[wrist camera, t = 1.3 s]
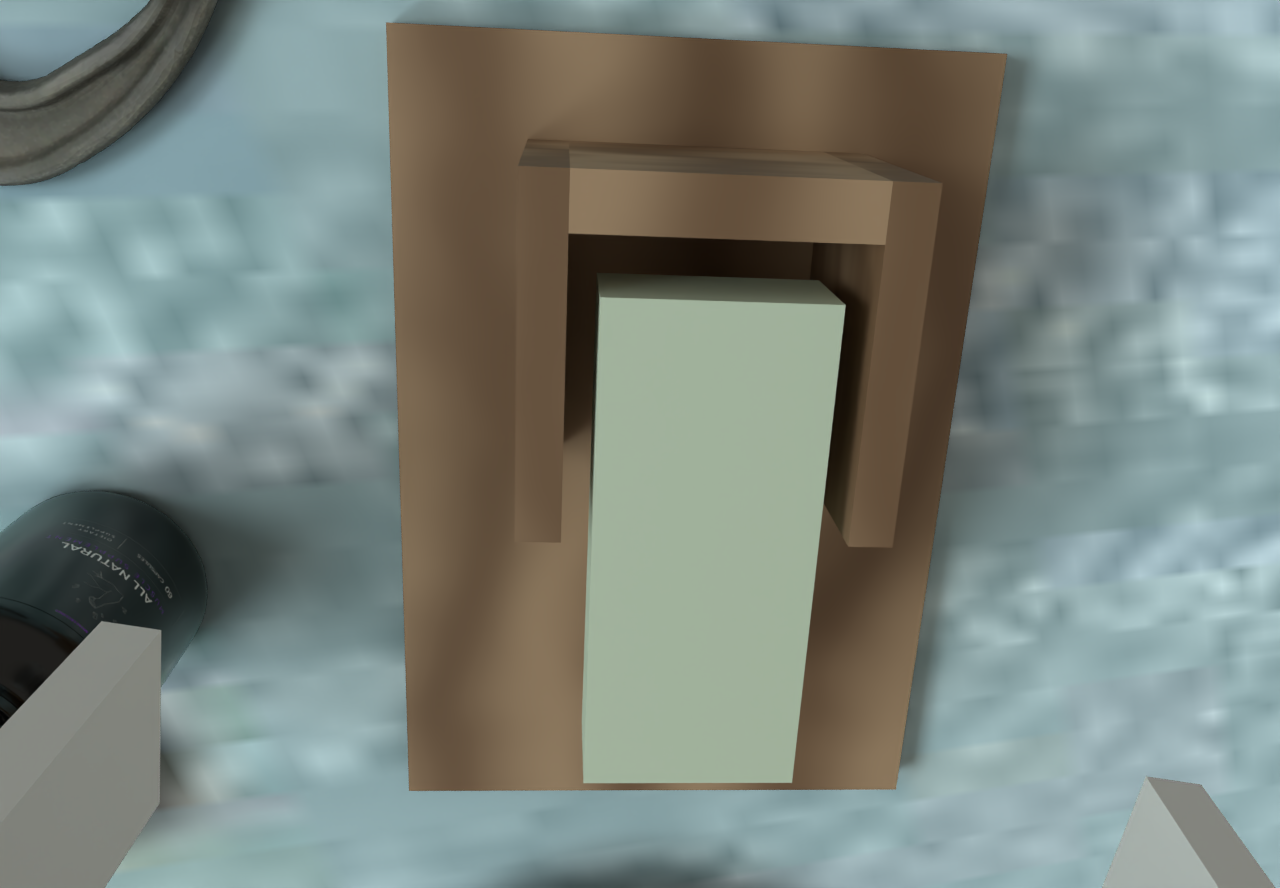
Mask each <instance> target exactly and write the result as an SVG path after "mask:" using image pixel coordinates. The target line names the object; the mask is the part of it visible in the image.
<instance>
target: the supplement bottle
mask: <svg viewBox="0 0 1280 888" xmlns="http://www.w3.org/2000/svg"><path fill="white" fill-rule="evenodd" d="M206 603H207V581H206V575H205V571H204V567H203V565H202V562H201V559H200V557H199V555H198V553H197V551H196V549H195V548H194V546H193V544H192V543H191V541H190V540H189V538H188V537H187V536H186V534H185V533H184V532H183V531H182V530H181V529H180V528H179V527H178V526H177V525H176V524H175V523H174V522H173V521H172V520H171V519H169V518H168V517H167V516H166V515H164V514H163V513H161V512H160V511H158V510H157V509H155V508H153V507H152V506H150V505H148V504H146V503H144V502H141V501H139V500H137V499H134V498H131V497H128V496H125V495H121V494H117V493H111V492H103V491H80V492H73V493H68V494H63V495H60V496H56V497H53V498H51V499H48V500H46V501H44V502H42V503H40V504H38V505H36V506H35V507H33V508H32V509H30V510H29V511H27V512H26V513H24V514H23V515H22V516H21V517H19V518H18V519H17V520H16V521H14V522H13V523H11V524H10V525H9V526H8V527H6V528H5V529H4V530H3V531H2V532H0V728H1V727H2V726H3V725H4V724H5V723H6V722H7V721H8V720H9V719H10V718H11V716H12V715H13V714H14V713H15V712H16V711H17V710H18V709H19V708H20V707H21V706H22V705H23V704H24V703H25V702H26V701H27V700H28V698H29V697H30V696H31V695H32V694H33V693H34V692H35V691H36V690H37V689H38V688H39V687H40V686H41V685H42V684H43V683H44V682H45V681H46V679H47V678H48V677H49V676H50V675H51V674H52V673H53V672H54V671H55V670H56V669H57V668H58V667H59V666H60V665H61V664H62V663H63V661H64V660H65V659H66V658H67V657H68V656H69V655H70V654H71V653H72V652H73V651H74V650H75V649H76V648H77V647H78V646H79V645H80V643H81V642H82V641H83V640H84V639H85V638H86V637H87V636H88V635H89V634H90V633H91V632H92V631H93V630H94V629H95V628H96V627H97V625H98V624H99V623H100V622H101V621H103V622H110V623H117V624H123V625H130V626H137V627H144V628H150V629H157V630H161V687H162V685H163V684H164V682H165V681H166V679H167V678H168V676H169V675H170V673H171V672H172V670H173V669H174V667H175V666H176V664H177V663H178V661H179V660H180V658H181V657H182V655H183V654H184V652H185V650H186V649H187V647H188V646H189V644H190V642H191V641H192V639H193V637H194V636H195V634H196V633H197V631H198V628H199V626H200V624H201V622H202V619H203V616H204V614H205V609H206Z"/></svg>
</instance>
